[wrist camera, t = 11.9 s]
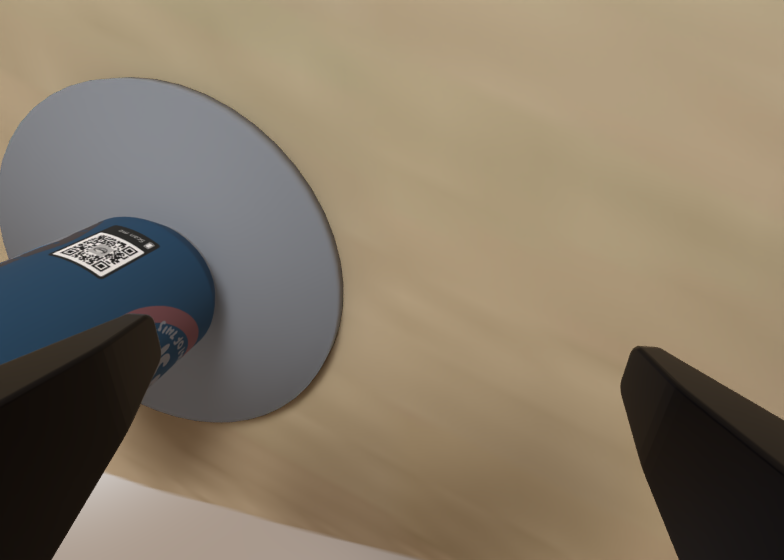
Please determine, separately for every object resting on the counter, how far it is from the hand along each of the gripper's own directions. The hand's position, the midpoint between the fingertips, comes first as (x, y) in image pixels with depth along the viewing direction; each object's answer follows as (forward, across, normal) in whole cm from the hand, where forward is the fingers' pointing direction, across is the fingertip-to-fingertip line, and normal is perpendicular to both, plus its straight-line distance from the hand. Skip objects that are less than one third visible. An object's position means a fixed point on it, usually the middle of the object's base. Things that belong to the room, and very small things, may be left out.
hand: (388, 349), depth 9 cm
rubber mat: (+14, +12, +6) cm, 19 cm away
